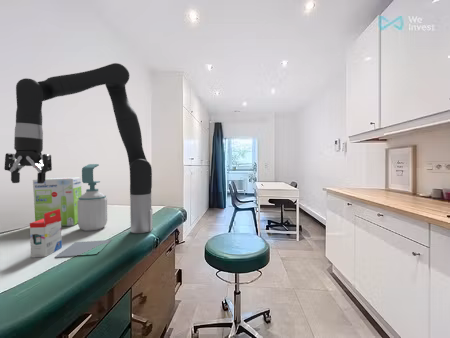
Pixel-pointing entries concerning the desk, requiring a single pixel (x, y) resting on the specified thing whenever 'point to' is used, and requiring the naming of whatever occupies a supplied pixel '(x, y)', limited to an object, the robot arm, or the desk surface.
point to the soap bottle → (91, 203)
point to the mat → (80, 248)
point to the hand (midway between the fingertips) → (28, 183)
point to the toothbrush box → (58, 198)
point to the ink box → (46, 234)
